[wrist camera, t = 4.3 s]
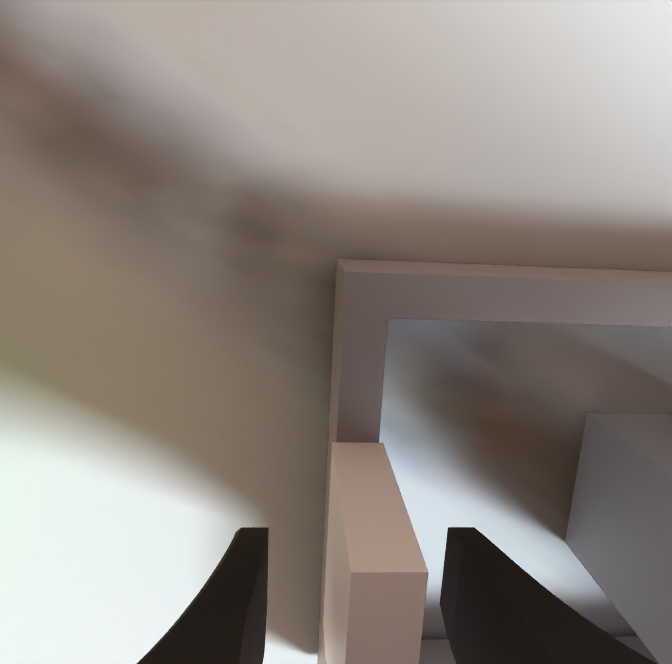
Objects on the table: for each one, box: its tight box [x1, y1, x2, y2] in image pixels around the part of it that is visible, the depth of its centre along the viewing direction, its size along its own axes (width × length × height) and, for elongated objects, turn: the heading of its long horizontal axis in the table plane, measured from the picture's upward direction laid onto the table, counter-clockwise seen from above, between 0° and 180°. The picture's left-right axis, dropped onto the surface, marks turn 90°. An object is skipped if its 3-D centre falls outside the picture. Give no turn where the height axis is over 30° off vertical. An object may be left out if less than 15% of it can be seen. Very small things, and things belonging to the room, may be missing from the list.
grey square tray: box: [317, 258, 672, 664], centre depth 13 cm, size 13×13×7 cm
